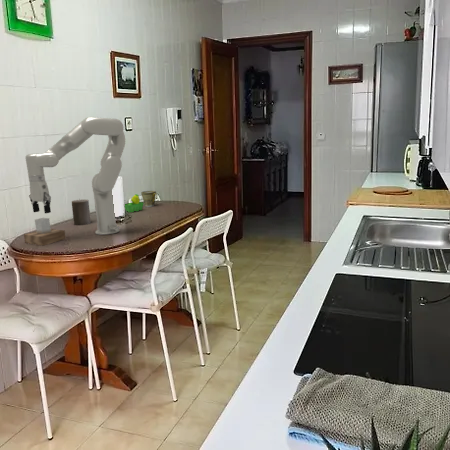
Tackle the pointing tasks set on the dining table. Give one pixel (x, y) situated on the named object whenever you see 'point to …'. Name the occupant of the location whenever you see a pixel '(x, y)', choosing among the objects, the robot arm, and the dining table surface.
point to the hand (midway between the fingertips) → (42, 212)
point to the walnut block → (44, 237)
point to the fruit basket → (134, 204)
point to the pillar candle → (81, 212)
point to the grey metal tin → (42, 225)
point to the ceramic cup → (149, 198)
